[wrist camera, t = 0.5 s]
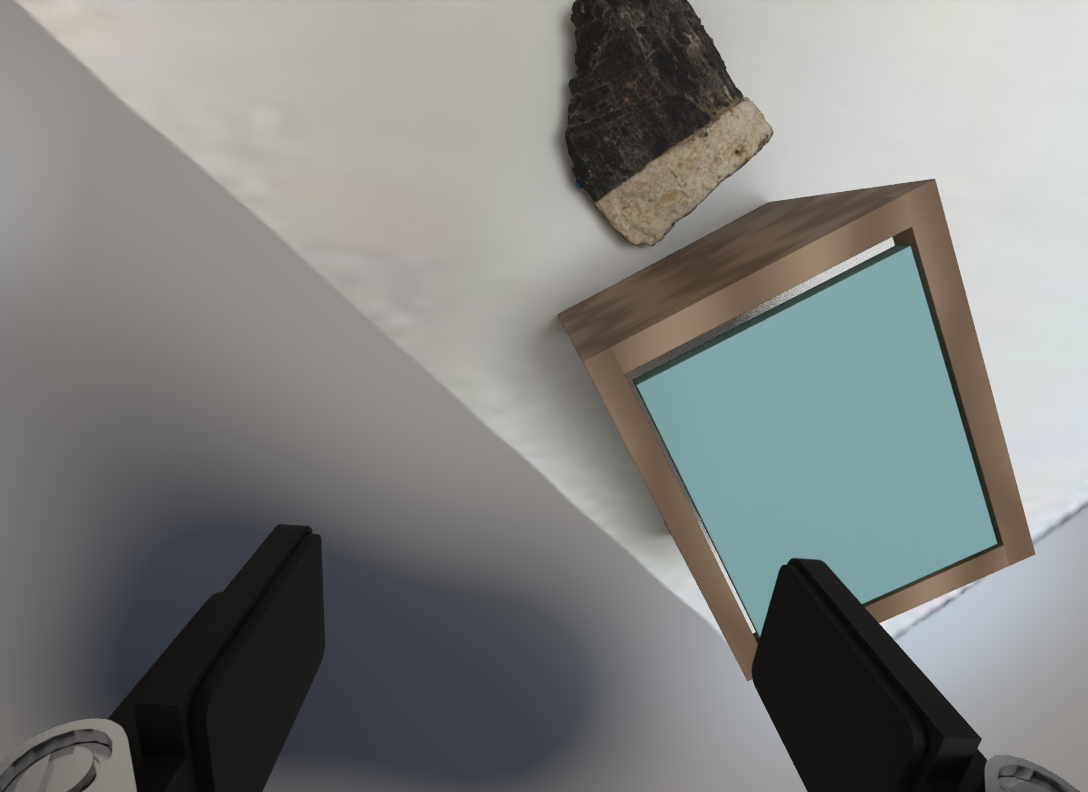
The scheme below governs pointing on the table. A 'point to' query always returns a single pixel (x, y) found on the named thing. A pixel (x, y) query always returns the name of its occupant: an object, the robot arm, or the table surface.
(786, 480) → the trapdoor flap
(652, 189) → the mineral specimen
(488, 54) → the table surface
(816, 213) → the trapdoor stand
